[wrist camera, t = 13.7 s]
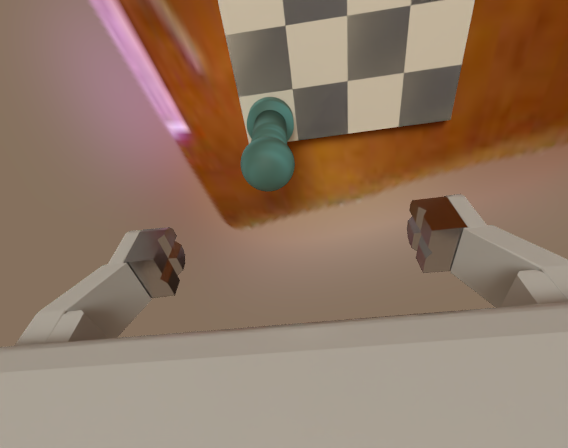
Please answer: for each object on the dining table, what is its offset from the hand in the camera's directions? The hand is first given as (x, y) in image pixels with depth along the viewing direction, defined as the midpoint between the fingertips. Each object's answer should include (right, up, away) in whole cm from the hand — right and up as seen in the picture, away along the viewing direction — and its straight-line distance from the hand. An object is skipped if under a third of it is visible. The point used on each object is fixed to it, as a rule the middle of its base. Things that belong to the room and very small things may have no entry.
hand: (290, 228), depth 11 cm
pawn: (-1, +10, +20) cm, 22 cm away
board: (+5, +18, +15) cm, 24 cm away
